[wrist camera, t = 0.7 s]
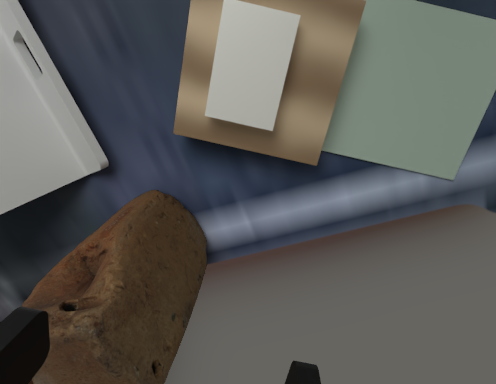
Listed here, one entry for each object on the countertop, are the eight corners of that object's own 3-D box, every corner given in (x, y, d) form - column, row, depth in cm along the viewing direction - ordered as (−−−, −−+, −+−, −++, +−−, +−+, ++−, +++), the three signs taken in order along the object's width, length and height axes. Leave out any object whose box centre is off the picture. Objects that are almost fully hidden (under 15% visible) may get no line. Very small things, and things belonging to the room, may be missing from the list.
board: (205, -22, 28) (196, -40, 24) (352, 13, 28) (366, 0, 24) (184, 128, 32) (173, 133, 28) (310, 156, 32) (316, 165, 29)
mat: (359, -12, 27) (360, -13, 27) (522, 27, 28) (525, 26, 27) (313, 148, 32) (313, 148, 32) (451, 179, 32) (453, 180, 32)
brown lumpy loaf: (217, 252, 37) (169, 423, 18) (166, 273, 38) (70, 452, 19) (174, 174, 34) (60, 281, 15) (119, 200, 35) (-48, 328, 16)
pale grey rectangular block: (227, 4, 25) (224, -3, 23) (297, 20, 25) (300, 15, 23) (208, 114, 28) (204, 115, 26) (272, 128, 28) (272, 131, 26)
